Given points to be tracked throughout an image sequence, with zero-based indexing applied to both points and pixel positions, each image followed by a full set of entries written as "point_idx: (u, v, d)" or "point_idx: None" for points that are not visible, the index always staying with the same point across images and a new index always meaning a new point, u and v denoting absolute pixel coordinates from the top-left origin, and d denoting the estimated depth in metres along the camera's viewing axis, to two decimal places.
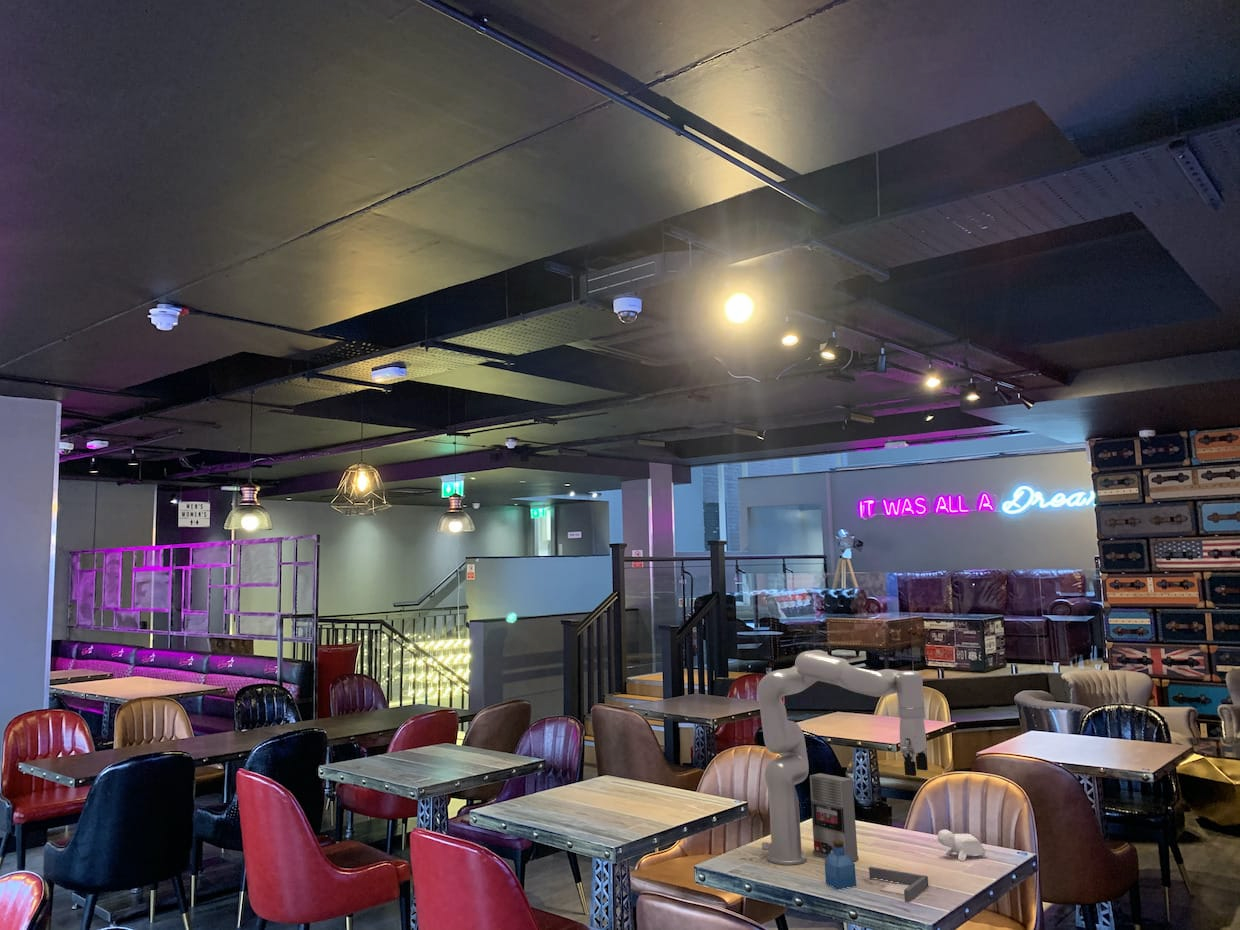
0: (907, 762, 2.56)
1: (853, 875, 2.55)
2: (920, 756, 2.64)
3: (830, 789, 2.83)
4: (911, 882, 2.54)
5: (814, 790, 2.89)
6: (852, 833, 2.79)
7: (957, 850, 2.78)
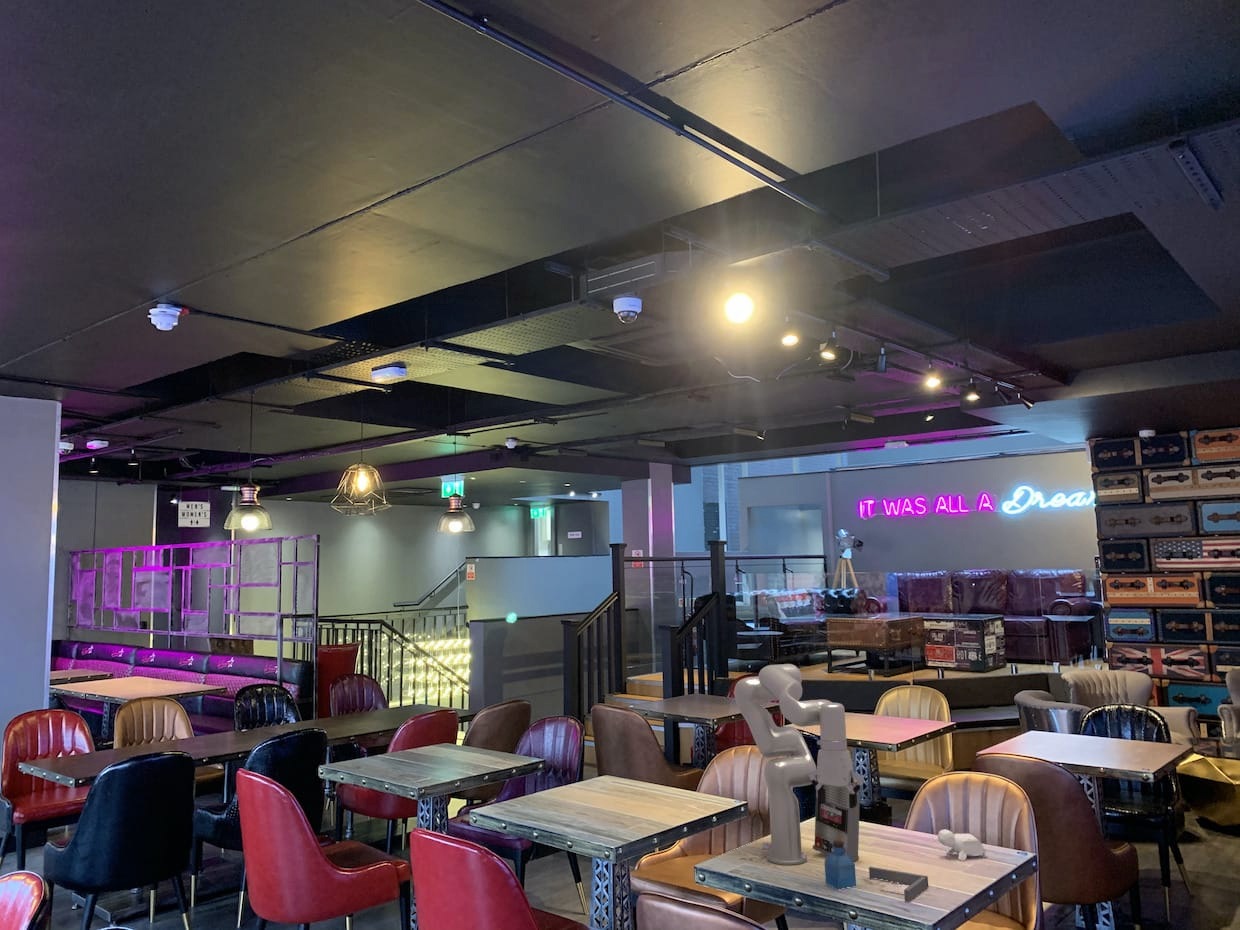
0: (855, 794, 2.57)
1: (853, 875, 2.55)
2: (822, 789, 2.63)
3: (836, 789, 2.81)
4: (911, 882, 2.54)
5: None
6: (855, 834, 2.79)
7: (957, 850, 2.78)
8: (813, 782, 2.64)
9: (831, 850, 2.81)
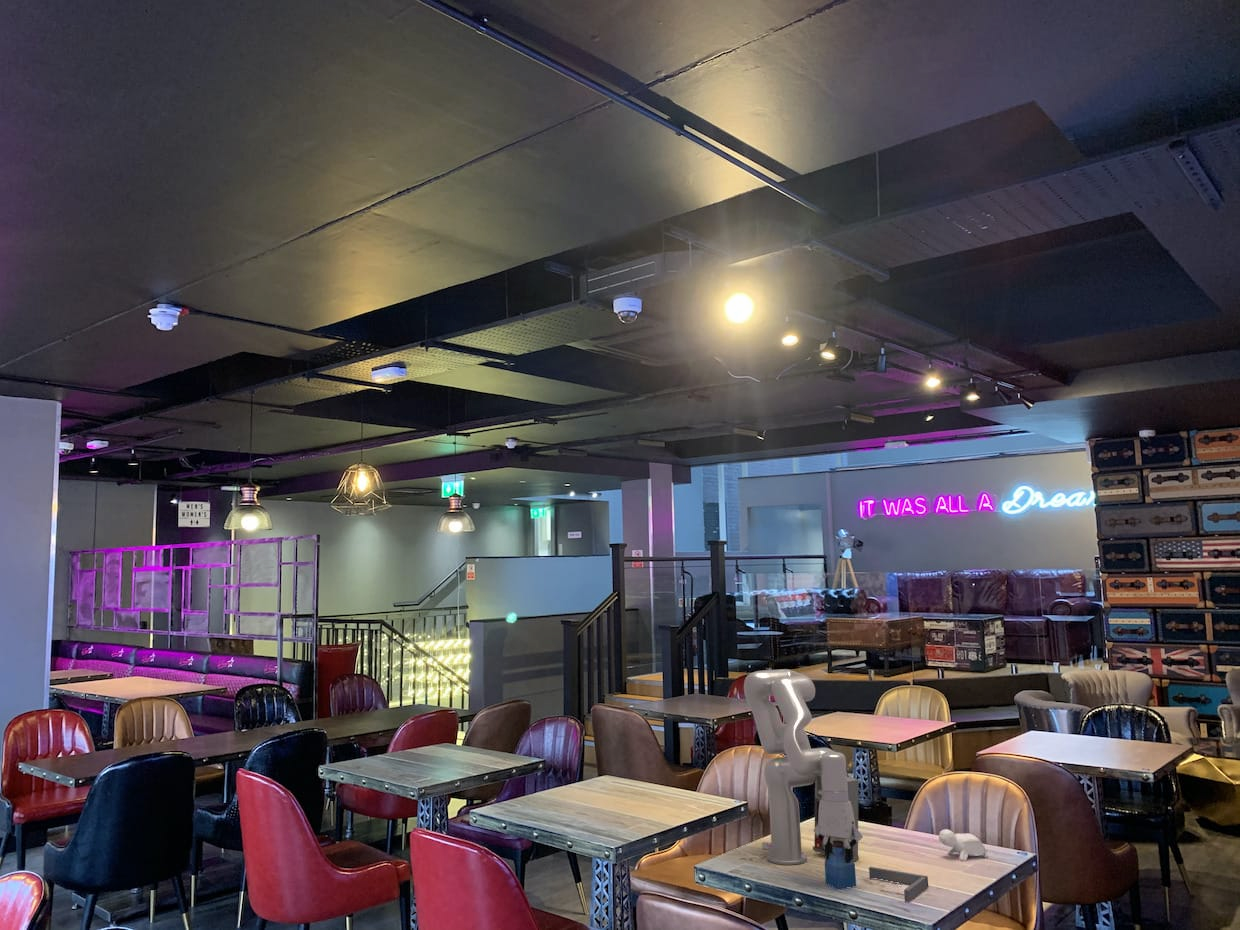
0: (851, 849, 2.55)
1: (853, 875, 2.55)
2: (829, 844, 2.60)
3: None
4: (911, 882, 2.54)
5: (818, 788, 2.88)
6: None
7: (958, 850, 2.78)
8: (820, 837, 2.61)
9: None
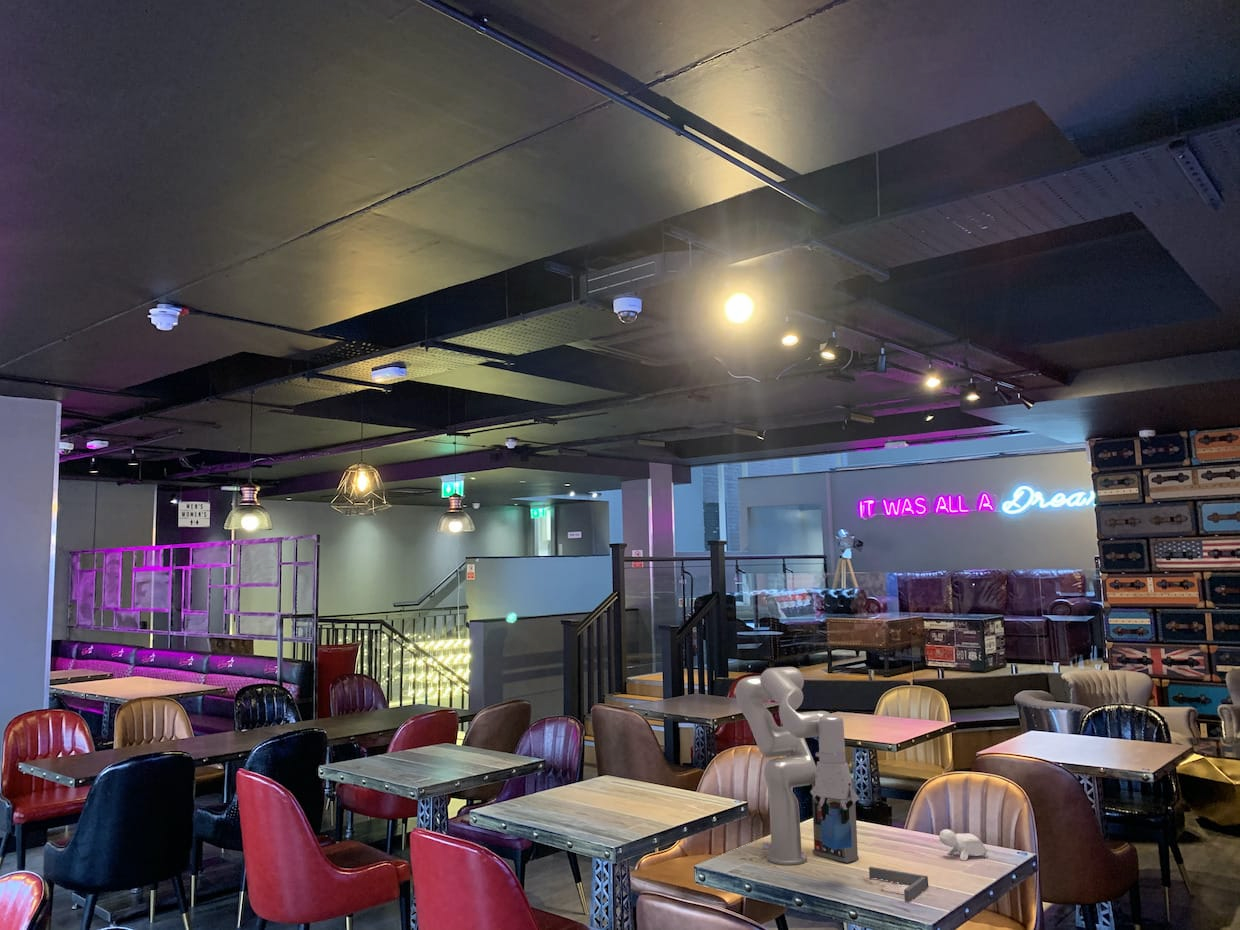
0: (847, 810, 2.57)
1: (849, 836, 2.57)
2: (825, 806, 2.62)
3: None
4: (911, 882, 2.54)
5: None
6: (852, 832, 2.80)
7: (959, 850, 2.78)
8: (817, 798, 2.63)
9: (830, 851, 2.81)
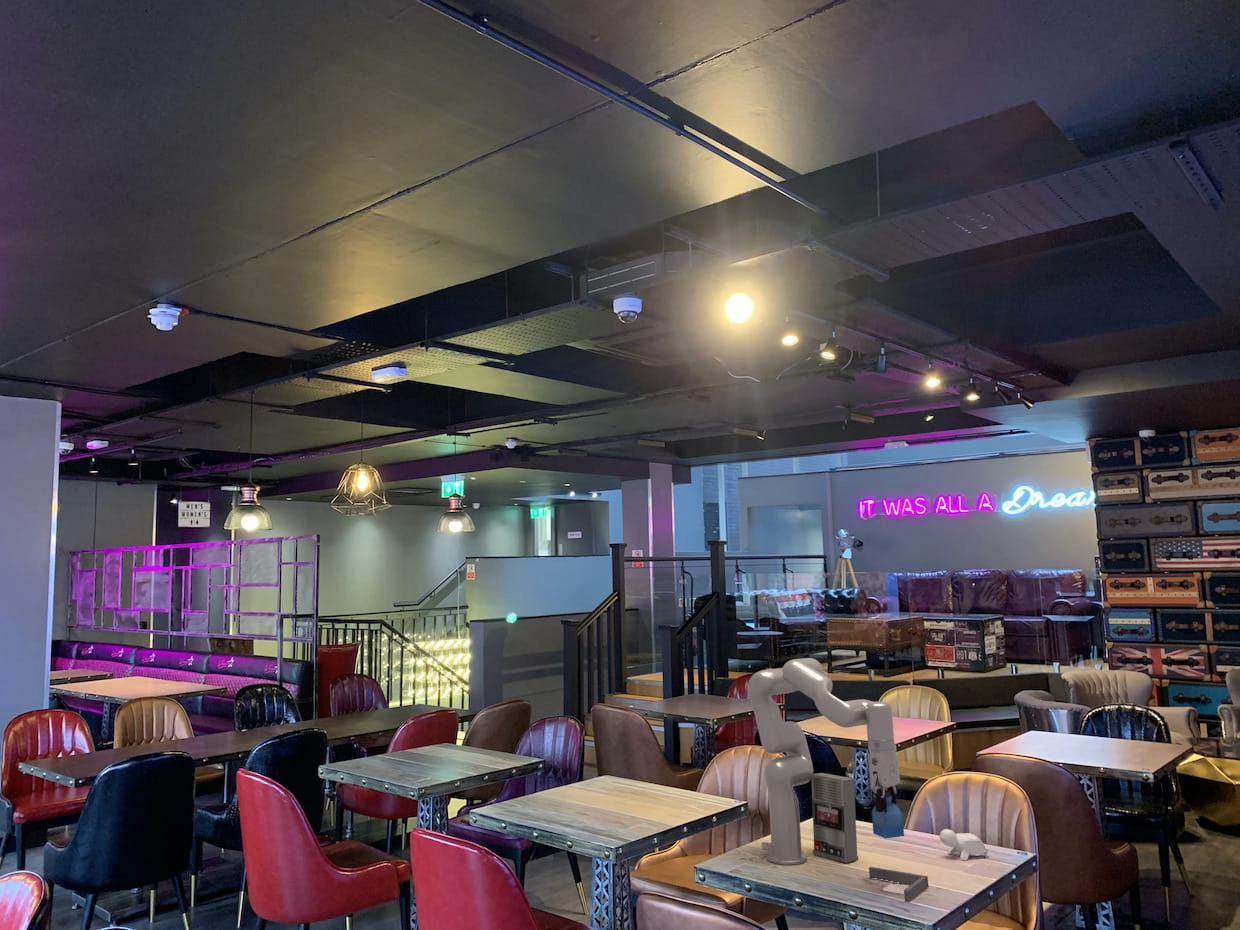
0: None
1: None
2: None
3: (831, 788, 2.84)
4: (911, 882, 2.54)
5: (815, 789, 2.89)
6: (852, 833, 2.80)
7: (959, 850, 2.79)
8: (879, 792, 2.51)
9: (830, 851, 2.81)
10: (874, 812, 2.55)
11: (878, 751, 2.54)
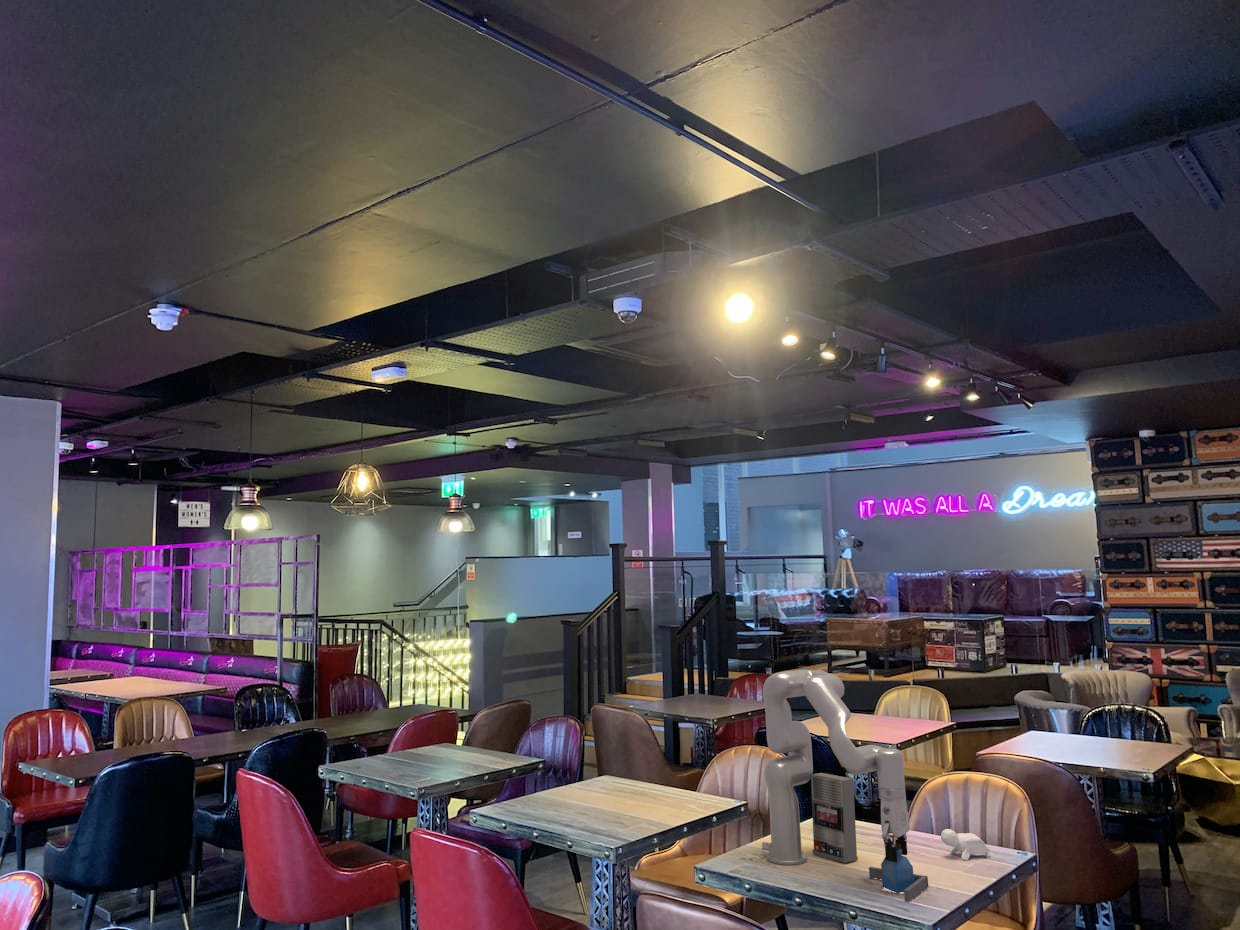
0: None
1: None
2: None
3: (830, 788, 2.84)
4: None
5: (815, 789, 2.89)
6: (851, 833, 2.79)
7: (960, 849, 2.79)
8: (890, 841, 2.48)
9: (829, 851, 2.81)
10: (884, 865, 2.53)
11: (890, 800, 2.52)
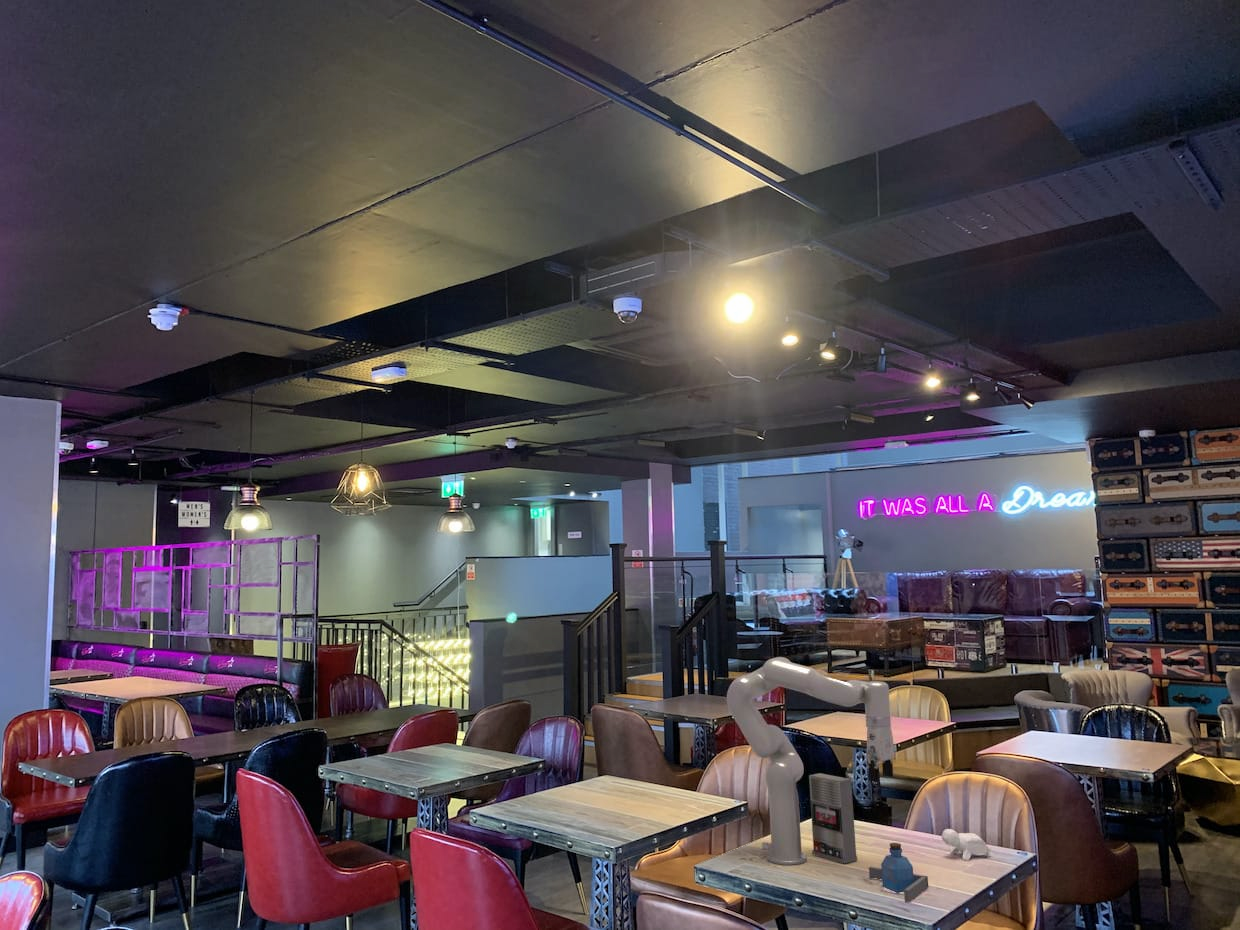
0: None
1: None
2: None
3: (828, 789, 2.83)
4: None
5: (813, 790, 2.89)
6: (850, 833, 2.79)
7: (961, 849, 2.79)
8: (873, 762, 2.68)
9: (829, 852, 2.81)
10: (884, 865, 2.53)
11: (875, 727, 2.72)
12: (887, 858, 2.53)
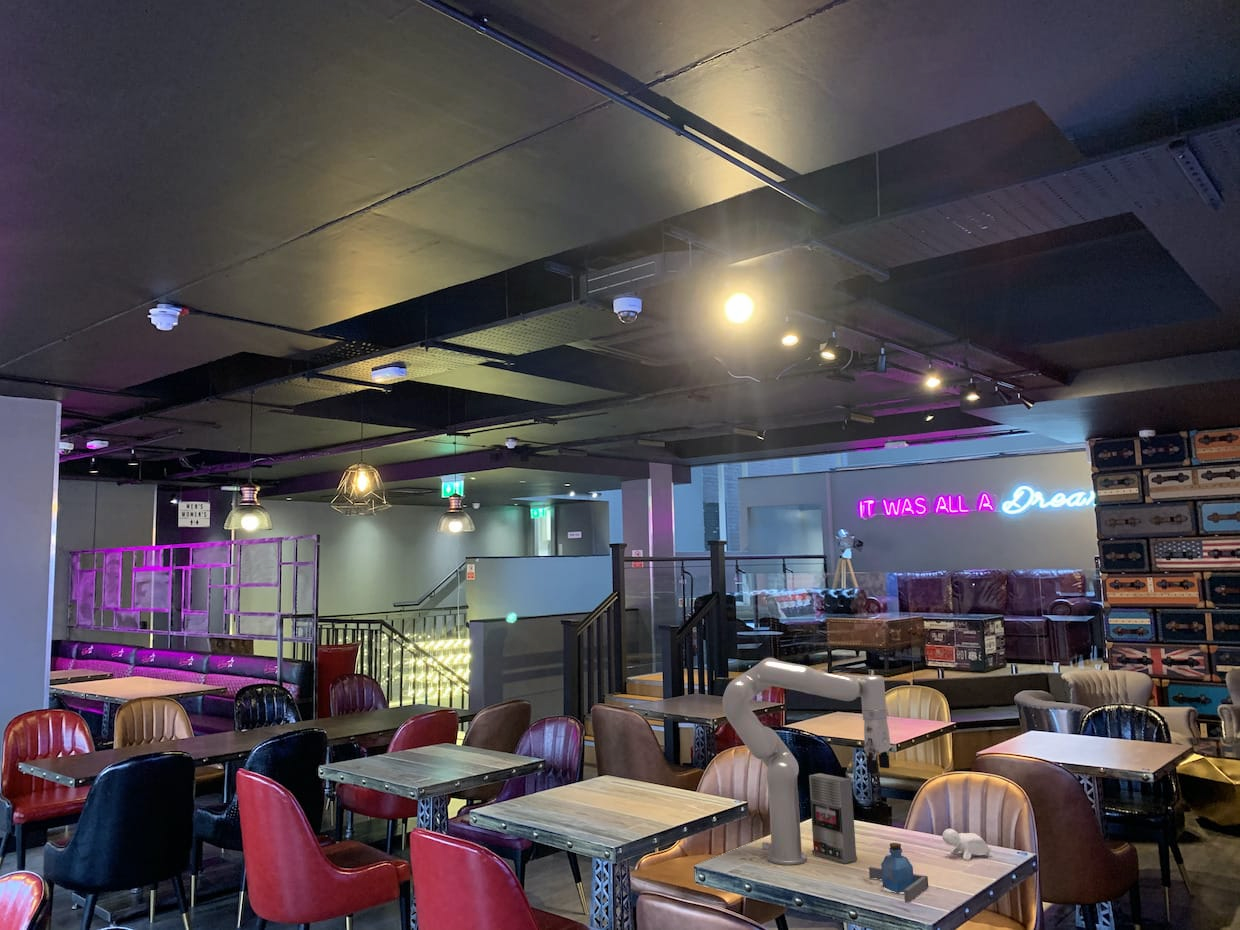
0: None
1: None
2: None
3: (828, 789, 2.83)
4: None
5: (813, 790, 2.89)
6: (850, 833, 2.79)
7: (962, 849, 2.79)
8: (871, 754, 2.74)
9: (829, 852, 2.81)
10: (884, 865, 2.53)
11: (872, 720, 2.78)
12: (887, 858, 2.53)
